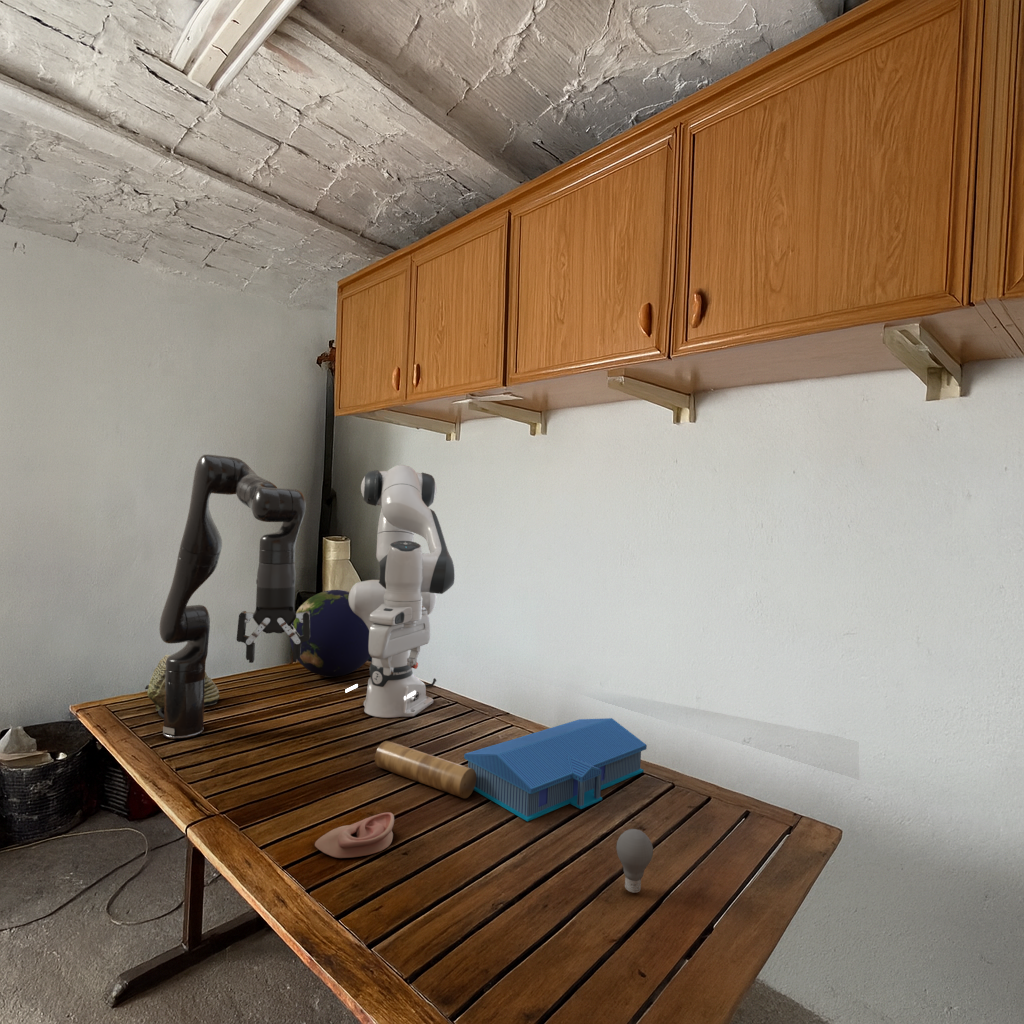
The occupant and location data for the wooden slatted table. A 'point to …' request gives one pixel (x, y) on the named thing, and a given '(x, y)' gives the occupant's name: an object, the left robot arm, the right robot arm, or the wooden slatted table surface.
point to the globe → (332, 635)
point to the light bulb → (634, 857)
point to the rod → (426, 769)
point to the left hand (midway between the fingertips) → (273, 661)
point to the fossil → (158, 687)
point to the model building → (556, 766)
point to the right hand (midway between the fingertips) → (400, 670)
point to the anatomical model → (358, 837)
